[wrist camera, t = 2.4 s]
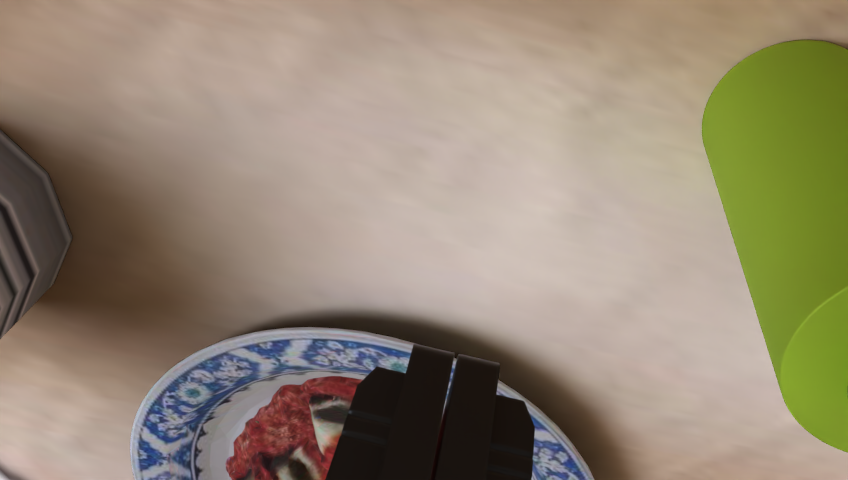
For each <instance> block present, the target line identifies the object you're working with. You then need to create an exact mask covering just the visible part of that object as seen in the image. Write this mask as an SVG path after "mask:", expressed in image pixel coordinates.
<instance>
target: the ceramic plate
mask: <svg viewBox="0 0 848 480" xmlns="http://www.w3.org/2000/svg"><path fill="white" fill-rule="evenodd" d="M414 344H415V343H412V342H408V341H404V340H401V339H397V338H394V337H389V336H384V335H379V334H374V333H369V332H363V331H355V330H347V329H338V328H318V327H300V328H281V329H273V330H265V331H258V332H254V333H249V334H245V335H241V336H237V337H232V338H228V339H225V340H222V341H220V342H218V343H215V344H213V345H211V346H208V347H206V348H204V349H201V350H199V351H197V352H195V353H193V354H192V355H190V356H188V357H187V358H185V359H183V360H182V361H180V362H179V363H177V364H176V365H175V366H174V367H172V368H171V369H170V370H169V371H167V372H166V373H165V374H164V375H163V376H162V377H161V378H160V379H159V380H158V382H157V383H156V384H155V385H154V386H153V387H152V388H151V390H150V391H149V392H148V394H147V395H146V397H145V398H144V400H143V401H142V404H141V406H140V408H139V410H138V412H137V414H136V417H135V421H134V424H133V428H132V433H131V441H130V456H131V464H132V470H133V475H134V479H135V480H325V479H326V476H327V473H328V470H329V467H330V464H331V461H332V458H333V455H334V452H335V450H336V447H337V444H338V441H339V438H340V436H341V433H342V429H343V426H344V423H345V420H346V417H347V415H348V412H349V408H350V405H351V402H352V400H353V397H354V394H355V391H356V388H357V385H358V384H359V383H360V382H361V381H362V380H363V379H364V378H365V377H366V376H367V375H368V374H369V373H370V372H372V371H373V370H374V369H375V368H376V367H381V368H386V369H390V370H394V371H398V372H403V373H406V370H407V367H408V363H409V359H410V355H411V352H412V348H413V345H414ZM456 360H457V359H456V358H454V360H453V365H452V370H451V375H450V381H449V386H448V391H447V396H446V401H447V397H448V393H449V389H450V385H451V381H452V376H453V372H454V368H455V364H456ZM497 395H501V396H506V397H510V398H514V399H518V400H523V401H524V402H525V404H526V407H527V409H528V411H529V414H530V416H531V419H532V421H533V423H534V426H535V436H534V453H533V470H532V478H531V480H594V478H593V475H592V473H591V470H590V468H589V467H588V465H587V464H586V462H585V461H584V459H583V458H582V456H581V455H580V453H579V452H578V451H577V449H576V448H575V446H574V445H573V443H572V442H571V441H570V440H569V438H568V437H567V436H566V435H565V434H564V433H563V432H562V431H561V429H560V428H559V427H558V426H557V425H556V424H555V423H554V422H553V421H552V420H551V419H550V418H549V417H547V416H546V415H545V414H544V413H543V412H542V411H541V410H540V409H539V408H538V407H536V406H535V405H534V404H532V403H531V402H530V401H528V400H527V399H526V398H525V397H523V396H522V395H521V394H519V393H518V392H516V391H515V390H513V389H512V388H510V387H509V386H507V385H506V384H504V383H502V382H501V381H499V380H498V386H497ZM446 401H445V405H446ZM444 409H445V406H444ZM443 413H444V411H443ZM442 417H443V416H442Z"/></svg>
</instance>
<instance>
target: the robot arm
mask: <svg viewBox="0 0 848 480" xmlns="http://www.w3.org/2000/svg"><path fill="white" fill-rule="evenodd" d="M454 355H455V353H453V352H449V351H444V350H440V349H436V348H431V347H427V346H423V345H419V344H414V345H413V348H412V352H411V355H410V359H409V363H408V367H407V370H406V373H403V372H398V371H394V370H390V369H386V368H381V367H376V368H375V369H374V370H373V371H372V372H370V373H369V374H368V375H367V376H366V377H365V378H364V379H363V380H362V381H361V382H360V383H359V384H358V385H357V388H356V391H355V394H354V397H353V400H352V402H351V405H350V408H349V412H348V415H347V417H346V420H345V423H344V426H343V429H342V433H341V436H340V438H339V441H338V444H337V447H336V450H335V452H334V455H333V458H332V461H331V464H330V467H329V470H328V473H327V476H326V479H325V480H531V478H532V470H533V453H534V436H535V426H534V423H533V421H532V419H531V416H530V414H529V411H528V409H527V407H526V404H525V402H524V401H523V400H518V399H514V398H510V397H506V396H501V395H497V386H498V378H499V369H500V363H497V362H492V361H488V360H484V359H480V358H475V357H471V356H467V355H462V354H458V357H457V360H456V364H455V368H454V372H453V376H452V381H451V385H450V389H449V393H448V397H447V401H446V396H447V391H448V386H449V381H450V375H451V370H452V365H453V360H454ZM445 401H446V405H445ZM444 406H445V409H444ZM443 411H444V413H443ZM442 416H443V417H442Z"/></svg>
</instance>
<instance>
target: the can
mask: <svg viewBox="0 0 848 480" xmlns="http://www.w3.org/2000/svg"><path fill="white" fill-rule="evenodd" d="M71 240H72V235H71V232H70V230H69V227H68V225H67V222H66V219H65V217H64V214H63V211H62V209H61V206H60V203H59V201H58V198H57V196H56V193H55V190H54V188H53V185H52V182H51V180H50V177H49V175H48V173H47V172H46V171H45V170H44V169H43V168H42V167H41V166H39V165H38V164H37V163H36V162H35V161H34V160H33V159H32V158H31V157H30V156H28V155H27V154H26V153H25V152H24V151H23V150H22V149H21V148H20V147H19V146H17V145H16V144H15V143H14V142H13V141H12V140H11V139H10V138H9V137H8V136H7V135H5V134H4V133H3V132H2V131H1V130H0V339H1V338H2V337H3V336H4V335H5V334H6V333H7V332H8V331H9V330H10V329H11V328H12V326H13V325H14V324H15V323H16V322H17V321H18V320H19V319H20V318H21V317H22V316H23V315H24V314H25V313H26V312H27V311H28V310H29V309H30V308H31V307H32V306H33V305H34V304H35V303H36V301H37V300H38V299H39V298H40V297H41V296H42V295H43V294H44V293H45V292H46V291H47V290H48V289H49V288H50V287H51V286H52V285H53V284H54V282H55V279H56V277H57V274H58V272H59V270H60V267H61V265H62V262H63V260H64V257H65V255H66V253H67V250H68V248H69V245H70V243H71Z"/></svg>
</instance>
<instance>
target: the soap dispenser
mask: <svg viewBox="0 0 848 480" xmlns="http://www.w3.org/2000/svg"><path fill="white" fill-rule="evenodd" d="M702 137H703V143H704V147H705V150H706V153H707V156H708V160H709V163H710V166H711V169H712V172H713V176H714V179H715V182H716V185H717V188H718V192H719V195H720V198H721V201H722V204H723V208H724V211H725V214H726V217H727V220H728V224H729V227H730V230H731V233H732V236H733V239H734V243H735V246H736V249H737V252H738V255H739V259H740V262H741V265H742V268H743V271H744V275H745V278H746V281H747V284H748V287H749V291H750V294H751V297H752V300H753V303H754V307H755V310H756V313H757V316H758V319H759V323H760V326H761V329H762V332H763V335H764V339H765V342H766V345H767V348H768V351H769V355H770V358H771V361H772V364H773V367H774V371H775V374H776V377H777V380H778V383H779V387H780V390H781V393H782V396H783V399H784V401H785V403H786V405H787V407H788V409H789V411H790V412H791V414H792V415H793V417H794V418H795V419H796V420H797V421H798V423H799V424H800V425H801V426H802V427H803V428H804V429H806V430H807V431H808V432H809V433H811V434H812V435H813V436H815V437H816V438H818V439H819V440H821V441H823V442H825V443H826V444H828V445H830V446H833V447H835V448H837V449H840V450H842V451H845V452H848V50H847V49H845V48H843V47H841V46H838V45H835V44H832V43H828V42H823V41H816V40H797V41H789V42H784V43H779V44H776V45H773V46H770V47H767V48H764V49H762V50H760V51H758V52H756V53H754V54H752V55H750V56H748V57H747V58H745V59H744V60H742V61H741V62H740V63H738V64H737V65H736V66H734V67H733V68H732V69H731V70H730V71H729V72H728V73H727V74H726V75H725V76H724V77H723V78H722V79H721V81H720V82H719V83H718V85H717V86H716V87H715V89H714V91H713V92H712V94H711V96H710V98H709V100H708V102H707V105H706V108H705V111H704V115H703V121H702Z"/></svg>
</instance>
